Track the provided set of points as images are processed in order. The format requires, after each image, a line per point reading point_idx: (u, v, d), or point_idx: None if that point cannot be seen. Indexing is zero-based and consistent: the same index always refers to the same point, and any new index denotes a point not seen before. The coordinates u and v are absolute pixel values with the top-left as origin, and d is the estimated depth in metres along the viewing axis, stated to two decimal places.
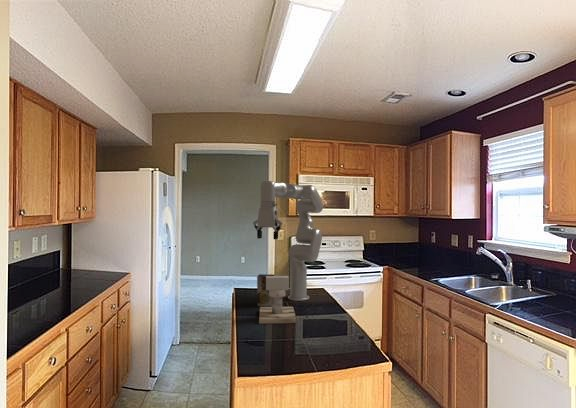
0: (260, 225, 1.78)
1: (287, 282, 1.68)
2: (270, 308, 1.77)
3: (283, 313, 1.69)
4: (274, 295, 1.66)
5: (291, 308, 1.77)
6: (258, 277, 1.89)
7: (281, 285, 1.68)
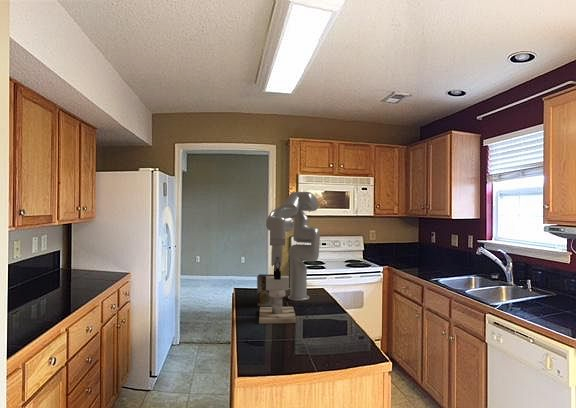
0: (281, 264, 1.67)
1: (287, 282, 1.68)
2: (270, 308, 1.77)
3: (283, 313, 1.69)
4: (274, 295, 1.66)
5: (291, 308, 1.77)
6: (258, 277, 1.89)
7: (281, 285, 1.68)
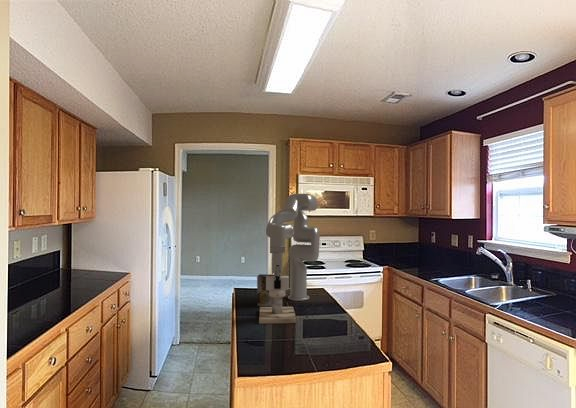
0: (281, 272, 1.67)
1: (287, 282, 1.68)
2: (270, 308, 1.77)
3: (283, 313, 1.69)
4: (274, 295, 1.66)
5: (291, 308, 1.77)
6: (258, 277, 1.89)
7: (281, 285, 1.68)
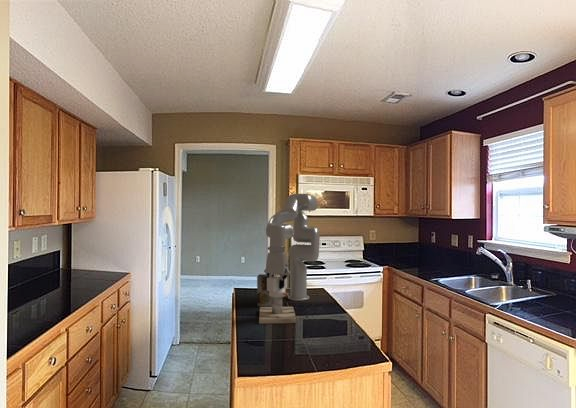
0: None
1: (286, 280, 1.73)
2: (270, 308, 1.77)
3: (283, 313, 1.69)
4: (281, 295, 1.66)
5: (291, 308, 1.77)
6: (258, 277, 1.89)
7: None
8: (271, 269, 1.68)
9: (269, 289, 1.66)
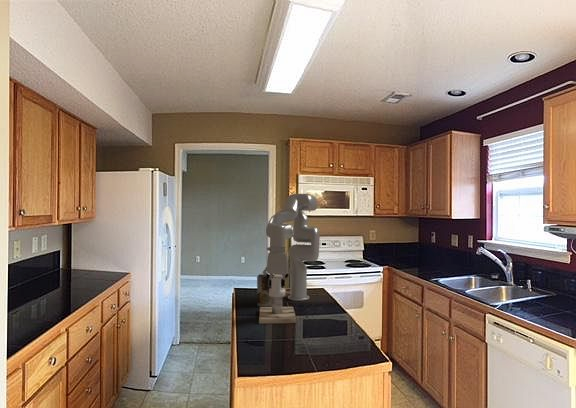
0: None
1: None
2: (270, 308, 1.77)
3: (283, 313, 1.69)
4: (284, 294, 1.68)
5: (291, 308, 1.77)
6: (258, 277, 1.89)
7: (281, 283, 1.72)
8: (274, 269, 1.67)
9: (274, 290, 1.64)
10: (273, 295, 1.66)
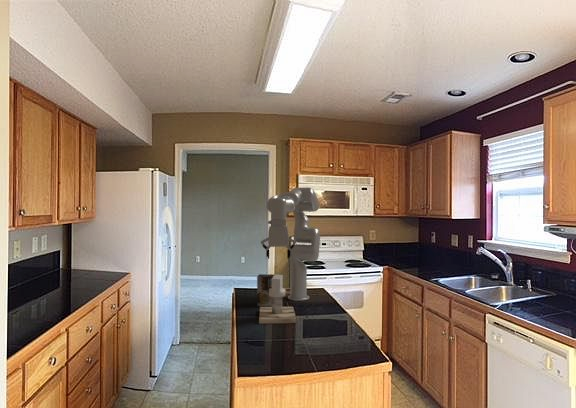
0: None
1: (282, 279, 1.75)
2: (270, 308, 1.77)
3: (283, 313, 1.69)
4: (284, 294, 1.68)
5: (291, 308, 1.77)
6: (258, 277, 1.89)
7: (281, 283, 1.72)
8: (275, 242, 1.68)
9: (275, 290, 1.64)
10: (273, 295, 1.66)
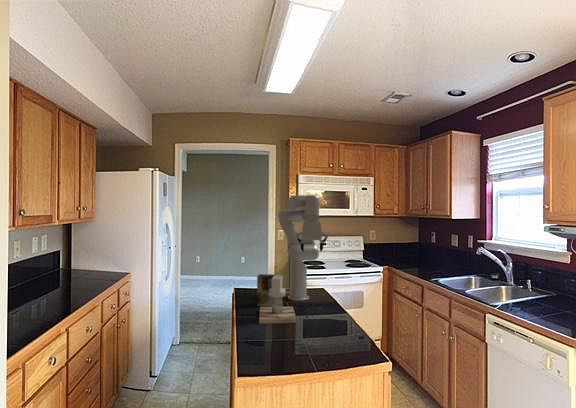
0: None
1: (282, 279, 1.75)
2: (270, 308, 1.77)
3: (283, 313, 1.69)
4: (284, 294, 1.68)
5: (291, 308, 1.77)
6: (258, 277, 1.89)
7: (281, 283, 1.72)
8: (309, 236, 1.81)
9: (275, 290, 1.64)
10: (273, 295, 1.66)
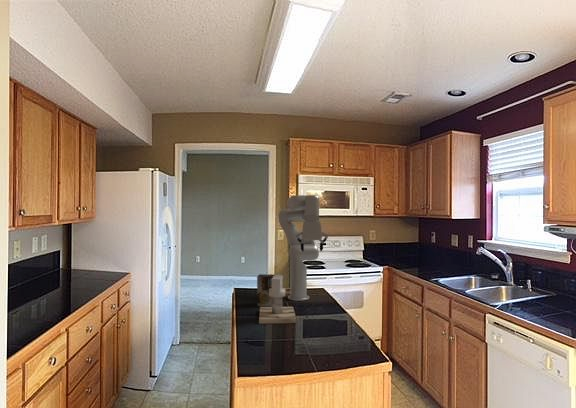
0: None
1: (282, 279, 1.75)
2: (270, 308, 1.77)
3: (283, 313, 1.69)
4: (284, 294, 1.68)
5: (291, 308, 1.77)
6: (258, 277, 1.89)
7: (281, 283, 1.72)
8: (309, 236, 1.81)
9: (275, 290, 1.64)
10: (273, 295, 1.66)
